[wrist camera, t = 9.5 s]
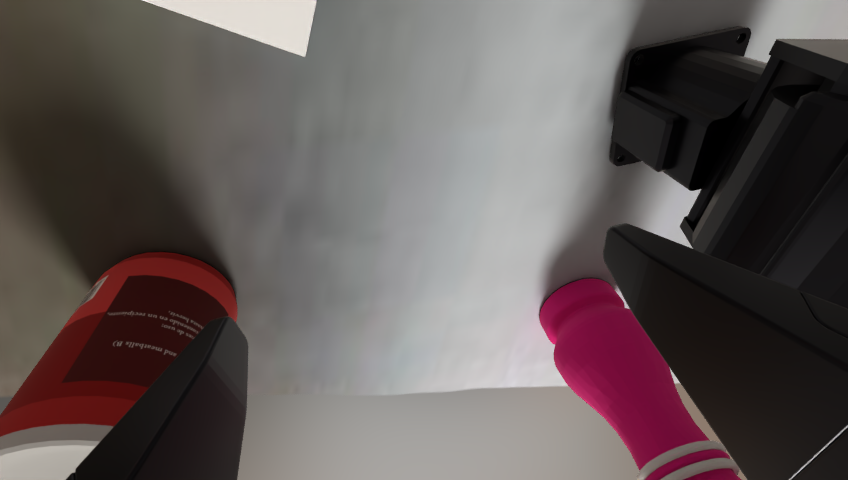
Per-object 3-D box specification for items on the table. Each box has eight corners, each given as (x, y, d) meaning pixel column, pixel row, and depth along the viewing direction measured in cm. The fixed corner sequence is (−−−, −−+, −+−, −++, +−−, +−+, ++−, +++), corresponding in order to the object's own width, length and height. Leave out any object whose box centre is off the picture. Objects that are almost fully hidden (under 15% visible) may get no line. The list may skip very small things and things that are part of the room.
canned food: (125, 344, 26) (19, 545, 17) (75, 248, 21) (-105, 458, 13) (249, 336, 27) (210, 517, 19) (228, 245, 23) (162, 429, 14)
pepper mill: (517, 331, 32) (686, 696, 17) (562, 266, 29) (834, 656, 13) (586, 339, 35) (791, 663, 19) (636, 279, 31) (942, 622, 15)
